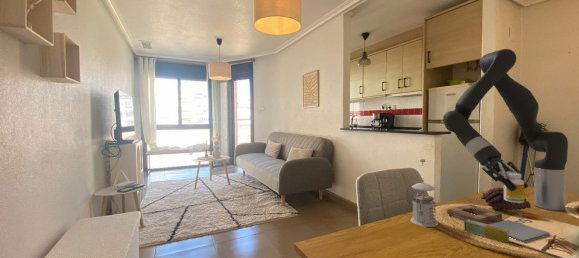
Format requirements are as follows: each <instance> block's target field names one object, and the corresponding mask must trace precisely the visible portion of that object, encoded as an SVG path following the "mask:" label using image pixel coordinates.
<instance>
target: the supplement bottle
mask: <svg viewBox="0 0 579 258" xmlns="http://www.w3.org/2000/svg"><path fill="white" fill-rule="evenodd" d="M506 176H507V178H508V179H509V180H510V181H511V182H512V183H513V184H514V185H515V186H516V187H517V189H516V190H514V191H510V190H509V189H508V188H507V187H506V186H505V185H504V184H503V188H504V200H506V201H509V202H514V203H523V202H524V198H525V189H524V182H525V180H524V179H522V175H521V174H520V173H517V172H516V173H513V172H509V171H507V172H506ZM521 179H522V180H521Z"/></svg>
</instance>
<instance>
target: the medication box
mask: <svg viewBox="0 0 579 258" xmlns="http://www.w3.org/2000/svg"><path fill="white" fill-rule="evenodd" d="M463 222H464V225H463V226H464V231H465V232H467V233H471V234H474V235H477V236H480V237H484V238H487V239H490V240H494V241H499V242H502V243H504V244H508V243H509V242H510V238H509V230H507V229H503V228H499V227H495V226H492V225H489V223H488V224H484V223H480V222H476V221H473V220H469V219H466V220H465V221H463Z"/></svg>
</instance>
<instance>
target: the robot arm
mask: <svg viewBox="0 0 579 258" xmlns="http://www.w3.org/2000/svg"><path fill="white" fill-rule="evenodd" d="M516 62H517V55H516V53H515V52H514V51H513V50H511V49H509V48H504V49H498V50H495V51H492V52H489V53H485V54H484V55H483V56H481V58H480V60H479V68H480V70H481V71H482V73H483V75H482V76H481V77H480V78H478V79H477V80H476V81H475V82H473V84H472V85H470V86H469V87H468V88H467V89H466V90H465V91H464V92H463V94H462V95H461V96H460V97H459V99H458V100H457V102H456V103H455V104H454V105H455V107H454V110H449V111H447V112H445V114H444V115H443V117H442V120H443V121H442V122H443V123H444V126H445V128H446V130H448V131H449V132H452V133H453V134H455V136H456V138H457V139H458V141H459V142H460V143H461V144H462V146H464V147H465V148H466V150H467V151H468V152H469V154H471V155H472V157H473V158H474V159H475V160H476V161H477V162H478V164H480V165H481V166H483V167H481V170H482V171H484V173H485V174H487V175H488V176H489V177H490V178H492V180H493V181H495V182H498V181H499V182H500V183H502V184H503V186H504V185H505V186H506V187H507V188H508V189H509V190H510V191H514V190H516V189H517V187H516V186H515V185H514V184H513V183H512V182H511V181H510V180H509V179H508V178H507V176H506V173H507V172H513V173H520V174H521V176H523V173H522V172H521V171H520V170H519V168H518V166H516V165H515V164H514V163H513V162H512V161H508V162H506V161H504V160H503V159H502V155H503V154H502V153H501V152H500V151H499V150H498V149H497V148H496V146H494V145H493V144H492V143H491V142H490V141H489V140H488V139H486V138H485V137H483V135H481V133H479V132H478V131H477V130H476V129H475V128H474V127H473V126H472V125H471V124H470V122H469V119H470V117H471V115H472V113H473V112H474V110H475V109H476V108H477V107H478V105H479V103H480V102H481V101H482V100H483V99H484V97H485V96H486V95H487V93H488V92H490V90H491V89H492V88H493V87H494V88H495V89H496V91H497V92H498V93H499V96H500V97H501V98H502V100H503V101H504V103H505V105H506V106H507V108H508V110H509V111H510V113H511V115H513V117H514V119H515V120H516V122H517V124H518V126H519V127H520V129H521V131H522V134H523V135H524V138H525V140H526V143H527V144H528V146H529V147H530V149H532V150H533V151H535V152H539V153H545V155H544V156H545V157H544V158H542V159H536V160H535V161H534V162H533V172H534V178H533V179H534V182H533V183H534V206H535V207H538V208H540V209H545V210H550V211H565V210H566V164H567V161H568V150H569V141H568V140H569V139H568V137H567V136H566V135H565V134H564V133H563V132H559V131H544V130H543V129H542V128H541V127H540V125H539V123H538V120H537V117H538V113H539V110H540V109H539V103H538V100H537V99H536V98H535V96H534V95H533V93H532V92H531V90H529V89H528V88H527V87H526V86H524V85H523V84H521V83H519V82H518V81H516V80H515V79H513V78H512V77H511V76H510V75H509V73H508V72H509V71H510V70H512V69H513V67H515V64H516ZM521 180H523V178H521ZM528 187H529V185H528V183H526V182H525V181H524V190H525V189H527V188H528Z"/></svg>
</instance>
